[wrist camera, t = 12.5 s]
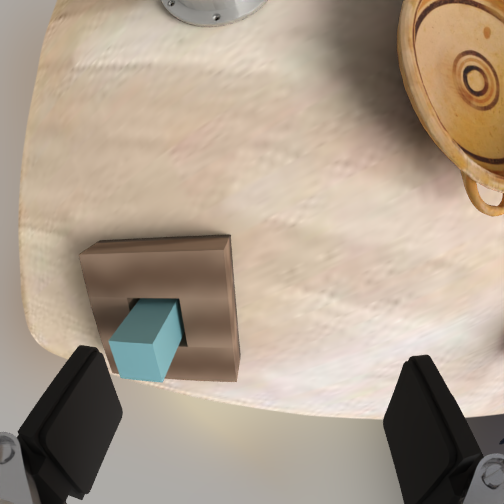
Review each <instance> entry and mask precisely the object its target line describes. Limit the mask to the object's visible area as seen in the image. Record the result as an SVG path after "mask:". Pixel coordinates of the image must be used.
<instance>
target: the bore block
mask: <svg viewBox="0 0 504 504" xmlns="http://www.w3.org/2000/svg"><path fill="white" fill-rule="evenodd" d="M79 258H80V262H81V267H82V271H83V275H84V280H85V284H86V288H87V292H88V295H89V299H90V303H91V307H92V310H93V314H94V317H95V321H96V324H97V327H98V331H99V334H100V337H101V340H102V343H103V346H104V350H105V353H106V355H107V358H108V361H109V364H110V367H111V370H112V373H116V374H119V372H118V369H117V366H116V363H115V360H114V357H113V354H112V351H111V348H110V345H109V339H110V338H111V337H112V335H113V334H114V333H115V331H116V330H117V328H118V327H119V326H120V325H121V323H122V322H123V321H124V319H125V318H126V317H127V315H128V314H129V313H130V311H131V310H132V309H133V307H134V306H135V305H136V304H137V302H138V301H139V300H140V298H179V300H180V306H181V312H182V318H183V323H184V329H185V332H184V334H183V336H182V339H181V341H180V343H179V346H178V348H177V350H176V352H175V355H174V357H173V359H172V362H171V364H170V366H169V369H168V371H167V374H166V376H165V379H179V380H195V381H220V382H237V376H238V370H239V363H240V345H239V334H238V322H237V311H236V299H235V286H234V274H233V261H232V248H231V235H211V236H186V237H163V238H142V239H122V240H102V241H99V242H97V243H95V244H94V245H92V246H91V247H89V248H88V249H86V250H85V251H83V252H82V253H80V254H79Z"/></svg>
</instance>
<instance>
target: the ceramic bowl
mask: <svg viewBox="0 0 504 504" xmlns="http://www.w3.org/2000/svg"><path fill="white" fill-rule="evenodd" d="M397 53H398V60H399V68H400V72H401V76H402V79H403V83H404V87H405V90H406V92H407V95H408V97H409V100H410V102H411V105H412V107H413V109H414V111H415V113H416V114H417V116H418V118H419V120H420V122H421V124H422V126H423V127H424V129H425V130H426V131H427V133H428V134H429V136H430V137H431V139H432V140H433V141H434V143H435V144H436V145H437V146H438V147H439V148H440V150H441V151H442V152H443V153H444V154H445V155H446V156H447V157H448V158H449V159H450V160H451V161H452V162H453V163H454V164H455V165H456V166H457V167H458V168H459V169H460V170H461V175H462V178H463V182H464V186H465V189H466V192H467V194H468V196H469V199H470V200H471V202H472V204H473V205H474V206H475V207H476V208H477V209H478V210H479V211H480V212H482V213H484V214H487V215H489V216H499V215H502V214H504V0H403V3H402V8H401V12H400V17H399V24H398V30H397ZM476 182H478V183H479V184H481V185H483V186H485V187H486V188H489V189H492V190H495V191H498V192H501V193H503V198H502V201H501V203H500V204H499V205H498V206H491V205H488V204H486V203H485V202H484V201H483V200H482V199H481V197H480V195H479V193H478V190H477V184H476Z"/></svg>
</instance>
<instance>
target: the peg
mask: <svg viewBox="0 0 504 504" xmlns="http://www.w3.org/2000/svg"><path fill="white" fill-rule="evenodd" d="M184 332H185V329H184V323H183V318H182V312H181V306H180V300H179V298H140V300H139V301H138V302H137V304H136V305H135V306H134V307H133V309H132V310H131V311H130V313H129V314H128V315H127V317H126V318H125V319H124V321H123V322H122V323H121V325H120V326H119V327H118V328H117V330H116V331H115V333H114V334H113V335H112V337H111V338H110V339H109V345H110V348H111V351H112V354H113V357H114V360H115V363H116V366H117V369H118V372H119V374H120V377H121V378H124V379H133V380H142V381H152V382H163V381H164V378H165V376H166V374H167V371H168V369H169V366H170V364H171V362H172V359H173V357H174V355H175V352H176V350H177V348H178V346H179V343H180V341H181V339H182V336H183V334H184Z"/></svg>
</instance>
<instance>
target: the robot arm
mask: <svg viewBox="0 0 504 504" xmlns="http://www.w3.org/2000/svg"><path fill="white" fill-rule="evenodd" d="M267 1H268V0H161V2H162V4H163V5H164V6H165V8H166V9H167V10H168V11H169V12H170V13H171V14H172V15H173V16H174V17H176V18H177V19H179V20H181V21H183V22H186V23H188V24H192V25H196V26H206V27H213V26H223V25H227V24H232V23H235V22H237V21H240V20H243V19H245V18H247V17H248V16H250V15H252V14H254V13H255V12H256V11H257V10H259V9H260V8H261V7H262V6H263V5H264V4H265V3H266V2H267ZM172 5H173V6H172ZM217 18H219V20H217V21H215V20H216V19H217ZM122 413H123V412H122V407H121V404H120V402H119V400H118V396H117V394H116V391H115V388H114V386H113V383H112V380H111V377H110V374H109V371H108V368H107V365H106V362H105V359H104V356H103V354H102V353H100V352H99V350H98V349H97V348H95V347H90V346H84V345H80V346H79V347H77V349H76V350H75V351H74V353H73V354H72V355H71V357H70V358H69V359H68V361H67V362H66V364H65V365H64V366H63V368H62V369H61V370H60V371H59V373H58V374H57V376H56V377H55V378H54V380H53V381H52V383H51V384H50V385H49V387H48V388H47V390H46V391H45V392H44V394H43V395H42V397H41V398H40V400H39V401H38V402H37V404H36V405H35V407H34V408H33V410H32V411H31V412H30V414H29V416H28V417H27V419H26V420H25V421H24V423H23V424H22V426H21V427H20V429H19V431H18V433H19V435H18V437H17V438H16V437H15V436H14V435H13V434H11V433H7V432H0V504H67V503H66V499H67V497H68V495H70V496H72V497H75V498H78V499H80V500H82V499H83V497H84V495H85V494H88V493H89V492H90V490H91V488H92V485H93V483H94V481H95V478H96V476H97V473H98V471H99V469H100V466H101V464H102V462H103V459H104V457H105V455H106V452H107V450H108V448H109V445H110V443H111V441H112V439H113V436H114V434H115V432H116V430H117V427H118V425H119V423H120V421H121V418H122ZM383 426H384V430H385V434H386V437H387V441H388V444H389V447H390V451H391V455H392V458H393V462H394V465H395V469H396V473H397V477H398V480H399V484H400V488H401V492H402V496H403V500H404V504H504V455H502V454H490V455H488V456H486V457H483V454H482V452H481V450H480V448H479V446H478V444H477V442H476V440H475V437H474V436H473V433H472V431H471V429H470V427H469V425H468V423H467V421H466V420H465V417H464V415H463V414H462V412H461V410H460V408H459V406H458V404H457V402H456V400H455V398H454V397H453V395H452V394H451V393H450V391H449V389H448V387H447V385H446V384H445V382H444V380H443V378H442V376H441V375H440V373H439V371H438V369H437V368H436V366H435V364H434V362H433V361H432V359H431V357H430V356H429V355H420V356H412V357H410V358H409V360H408V361H406V362H405V363H404V364H403V367H402V370H401V373H400V376H399V379H398V382H397V384H396V387H395V390H394V393H393V395H392V398H391V401H390V403H389V406H388V408H387V411H386V413H385V416H384V419H383Z"/></svg>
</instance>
